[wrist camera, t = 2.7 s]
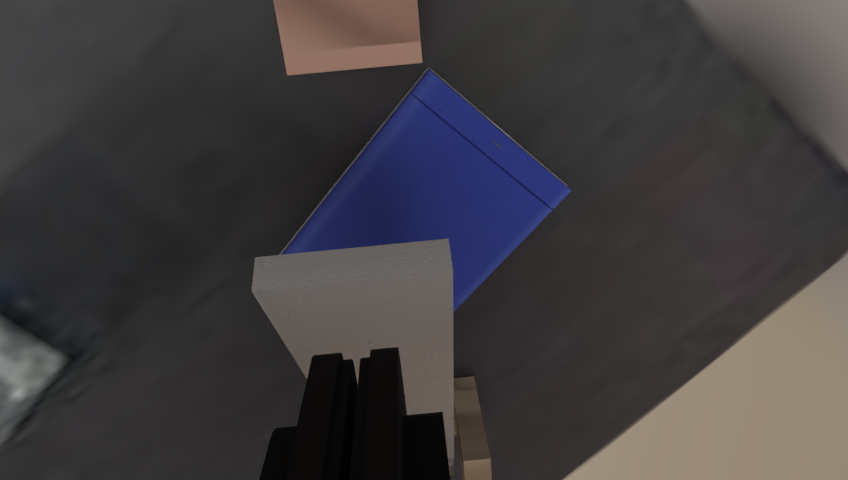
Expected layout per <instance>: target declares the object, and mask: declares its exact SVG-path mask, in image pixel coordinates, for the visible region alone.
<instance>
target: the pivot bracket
mask: <svg viewBox="0 0 848 480" xmlns="http://www.w3.org/2000/svg"><path fill="white" fill-rule="evenodd" d="M454 435H457V442H458V449H459V456H460V463H461V470H462V477H463V480H492V478H491V458H490V453H489V448H488V443H487V438H486V433H485V428H484V423H483V418H482V413H481V408H480V404H479V399H478V394H477V389H476V384H475V379H474V376H471V377H461V378H454Z"/></svg>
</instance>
